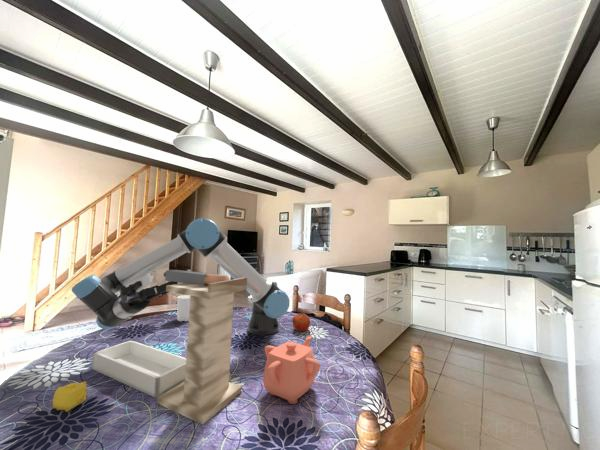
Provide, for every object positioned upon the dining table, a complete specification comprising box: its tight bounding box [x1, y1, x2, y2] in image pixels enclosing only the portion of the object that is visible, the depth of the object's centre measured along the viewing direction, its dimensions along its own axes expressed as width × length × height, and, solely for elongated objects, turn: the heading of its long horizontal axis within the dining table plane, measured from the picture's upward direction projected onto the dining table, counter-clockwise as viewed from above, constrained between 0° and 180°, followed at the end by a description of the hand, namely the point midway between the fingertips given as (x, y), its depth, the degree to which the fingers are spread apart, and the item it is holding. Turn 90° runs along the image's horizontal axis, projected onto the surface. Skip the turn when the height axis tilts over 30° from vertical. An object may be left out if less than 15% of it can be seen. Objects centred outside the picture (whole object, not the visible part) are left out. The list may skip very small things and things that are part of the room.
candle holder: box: [176, 294, 191, 322], centre depth 130 cm, size 10×10×12 cm
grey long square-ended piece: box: [163, 269, 230, 286], centre depth 70 cm, size 24×3×3 cm, turn 65°
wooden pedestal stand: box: [156, 277, 247, 426], centre depth 66 cm, size 16×14×32 cm
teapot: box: [262, 334, 321, 405], centre depth 70 cm, size 17×16×13 cm
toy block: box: [51, 381, 88, 413], centre depth 61 cm, size 8×6×5 cm
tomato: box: [292, 312, 311, 332], centre depth 119 cm, size 9×9×8 cm
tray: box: [91, 340, 186, 399], centre depth 76 cm, size 32×12×5 cm, turn 65°
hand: (172, 275), depth 73 cm, fingers open, 13 cm apart
